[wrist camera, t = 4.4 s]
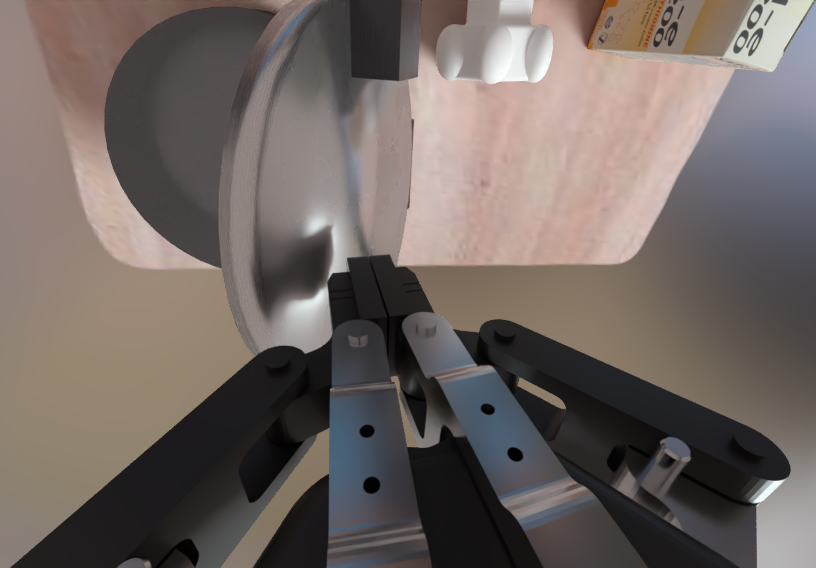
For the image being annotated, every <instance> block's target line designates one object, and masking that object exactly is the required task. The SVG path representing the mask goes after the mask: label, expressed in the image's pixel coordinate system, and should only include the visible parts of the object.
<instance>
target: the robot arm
mask: <svg viewBox="0 0 816 568" xmlns="http://www.w3.org/2000/svg"><path fill="white" fill-rule="evenodd" d="M346 268H347V272H339V273H332V275H331V276H330V278H329V280H328V281H327V285H328V296H329V308H330V319H331V327H332V336H331V338H330V339H329V341H328V342H327V343H326V344H324V345H323V346H322V347H320V348H318V349H316V350H314V351H311V352H308V353H306V354H305V353H304V352H303V351H302V350H301V349H299V348H297V347H294V346H287V345H282V346H275V347H272V348H268V349H266V350H264V351H262V352H261V353H259V354H258V355H256V356H255V357H254V358H253V359H252V360H251V361H249V362H248V364H246V365H245V366H244V367H243V368H241V369H240V370H239V371H238V372H237V373H236V374H234V375H233V376H232V377H231V378H230V379H229V380H228V381H226V382H225V383H224V384H223V385H222V386H221V387H220V388H218V389H217V390H216V391H215V392H214V393H212V394H211V395H210V396H209V397H208V398H207V399H205V400H204V401H203V402H202V403H201V404H200V405H199V406H197V407H196V408H195V409H194V410H193V411H192V412H190V413H189V414H188V415H187V416H186V417H184V418H183V419H182V420H181V421H180V422H179V423H178V424H176V425H175V426H174V427H173V428H172V429H171V430H169V431H168V432H167V433H166V434H165V435H164V436H162V438H160V439H159V440H158V441H157V442H156V443H154V444H153V445H152V446H151V447H150V448H149V449H147V450H146V451H145V452H144V453H143V454H142V455H140V456H139V457H138V458H137V459H136V460H135V461H133V462H132V463H131V464H130V465H129V466H128V467H127V468H125V469H124V470H123V471H122V472H121V473H120V474H118V475H117V476H116V477H115V478H114V479H113V480H111V481H110V482H109V483H108V484H107V485H106V486H105V487H103V488H102V489H101V490H100V491H99V492H98V493H96V494H95V495H94V496H93V497H92V498H91V499H89V500H88V501H87V502H86V503H85V504H84V505H82V506H81V507H80V508H79V509H78V510H77V511H76V512H75V513H73V514H72V515H71V516H70V517H69V518H68V519H66V520H65V521H64V522H63V523H62V524H61V525H59V526H58V527H57V528H56V529H55V530H53V531H52V532H51V533H50V534H49V535H48V536H47V537H45V538H44V539H43V540H42V541H41V542H40V543H38V544H37V545H36V546H35V547H34V548H33V549H31V550H30V551H29V552H28V553H27V554H26V555H24V556H23V557H22V558H21V559H20V560H19V561H18V562H16V563H15V564H14V565H13V566H12V567H11V568H220V567H221V566H222V564H223V563H224V562H225V561H226V559H227V558H228V556H229V555H230V554H231V553H232V551H233V550H234V549H235V547H236V546H237V545H238V543H239V542H240V541H241V539H242V538H243V537H244V535H245V534H246V533H247V531H248V530H249V529H250V527H251V526H252V525H253V523H254V522H255V521H256V519H257V518H258V517H259V515H260V514H261V513H262V511H263V510H264V509H265V507H266V506H267V505H268V503H269V502H270V501H271V499H272V498H273V497H274V495H275V494H276V492H277V491H278V490H279V489H280V487H281V486H282V485H283V483H284V482H285V480H286V479H287V478H288V476H289V475H290V474H291V473H292V471H293V470H294V469H295V467H296V466H297V465H298V463H299V462H300V461H301V459H302V458H303V457H304V455H305V454H306V453H307V451H308V450H309V449H310V447H311V446H312V445H313V443H314V441H315V439H316V437H317V434H318V433H319V432H322V431H324V430H326V429H328V428H330V439H329V474H328V475H326V476H325V477H323V478H321V479H320V480H319V481H317V482H316V483H315V484H314V485H312V486H311V487H310V488H309V489H308V490H307V491H306V492H305V493H304V494H303V495H302V496H301V497H300V498H299V499H298V501H297V502H296V503H295V504H294V506H293V507H292V508H291V510H290V511H289V513H288V514H287V516H286V517H285V519H284V520H283V522H282V524H281V525H280V527H279V528H278V530H277V531H276V533H275V534H274V536H273V537H272V539H271V540H270V542H269V544H268V545H267V547H266V548H265V550H264V551H263V553H262V554H261V556H260V557H259V559H258V560H257V562H256V563H255V565H254V567H253V568H757V541H756V540H757V539H756V538H757V536H756V507H757V506H758V505H760V503H761V502H763V500H764V499H766V498H767V497H768V496H769V495H770V494H771V493H772V492H773V491H774V490H775V489H776V488H777V487H778V486H779V485H780V484H781V483H782V482H783V481H784V480H785V479H786V478H787V477H788V476H789V475H790V471H791V469H790V464H789V462H788V460H787V458H786V456H785V455H784V453H782V451H781V450H780V449H779V448H778V447H777V446H776V445H775V444H774V443H773V442H772V441H771V440H769V439H768V438H767V437H765V436H764V435H762V434H761V433H759V432H758V431H756V430H754V429H752V428H750V427H748V426H746V425H743V424H741V423H739V422H737V421H735V420H732V419H730V418H728V417H726V416H723V415H721V414H719V413H716V412H714V411H712V410H710V409H708V408H705V407H703V406H701V405H699V404H696V403H694V402H692V401H689V400H687V399H685V398H683V397H680V396H678V395H676V394H674V393H671V392H669V391H667V390H665V389H663V388H660V387H658V386H656V385H654V384H651V383H649V382H647V381H645V380H642V379H640V378H638V377H635V376H633V375H631V374H629V373H626V372H624V371H622V370H620V369H617V368H615V367H613V366H611V365H609V364H606V363H604V362H602V361H599V360H597V359H595V358H593V357H590V356H588V355H586V354H584V353H581V352H579V351H577V350H575V349H572V348H570V347H568V346H566V345H563V344H561V343H559V342H556V341H554V340H552V339H550V338H548V337H545V336H543V335H541V334H539V333H536V332H534V331H532V330H530V329H527V328H525V327H523V326H521V325H518V324H516V323H514V322H511V321H507V320H501V319H497V320H490V321H487V322H485V323H484V324H483V325H482V326H481V328H480V331H479V333H477V332H468V331H460V330H455V329H452V327H451V326H450V324H449V323H448V321H447V320H446V319H445V318H443V317H442V316H440V315H437V314H435V313H434V311H433V309H432V307H431V305H430V303H429V301H428V299H427V297H426V295H425V293H424V291H423V289H422V287H421V285H420V284H419V281H418V279H417V277H416V275H415V273H413V272H412V271H410V270H409V269H408V268H406V267H396V268H395V265H394V263H393V261H392V258H391V256H390V254H386V255H373V256H369V257H368V256H362V257H349V258H346ZM391 376H398V379H399V382H400V384H399V396H400V400H401V402H402V405H403V407H404V410H405V412H406V415H407V418H408V420H409V423H410V426H411V428H412V430H413V433H414V436H415V439H416V441H417V444H418V446H419V448H417V447H416V448H415V447H407V444H406V439H405V433H404V428H403V422H402V417H401V412H400V406H399V400H398V395H397V389H396V386H395V383H394V382H391ZM520 377H521V378H523V379H525V380H526V381H528V382H530V383H532V384H534V385H536V386H538V387H540V388H542V389H544V390H546V391H548V392H550V393H552V394H553V395H555V396H557V397H559V398H560V399H561V400H562V401H563V402H564V404H565V406H566V409H561V408H558V407H556V406H554V405H552V404H550V403H548V402H547V401H545V400H543V399H541V398H539V397H537V396H535V395H533V394H531V393H530V392H528V391H526V390H524V389H522V388H520V387H518V386H517V385H518V381H519V378H520Z"/></svg>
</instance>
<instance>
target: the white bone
mask: <svg viewBox="0 0 816 568" xmlns="http://www.w3.org/2000/svg"><path fill="white" fill-rule="evenodd" d="M533 1H534V0H468V6H467V20H466V24H465V25H458V24H452V25H449V26H447V27H446V28H445V29H444V30H443V31H442V32H441V34H440V36H439V38H438V41H437V46H436V64H437V68H438V71H439V73H440V74H441V76H442V77H443V78H445V79H446V80H449V81H454V80H457V79H463V80H476V81H483V82H484V83H487V84H495V83H497V82H500V81H528V82H530V83H535V82H538V81H539V80H541V79H542V77H543V76H544V75H545V73H546V72H547V70H548V67H549V64H550V61H551V57H552V51H553V37H552V32H551V30H550V28H549V27H548V26H546V25H544V24H540V25H531V23H530V21H531V14H532V8H533Z"/></svg>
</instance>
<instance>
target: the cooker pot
mask: <svg viewBox="0 0 816 568" xmlns="http://www.w3.org/2000/svg"><path fill="white" fill-rule="evenodd" d="M275 15H276V13H272V12H268V11H261V10H254V9H244V8H237V7H210V8H204V9H198V10H192V11H188V12H185V13H182V14H180V15H177V16H174V17H171V18H169V19H167V20H165V21H164V22H162V23H160V24H158V25H156V26H154V27H153V28H151V29H150V30H149V31H148V32H147V33H145V34H144V35H143V36H142V37H140V38H139V39H138V40H137V41H136V42H135V43H134V44H133V46H132V47H131V48H130V49H129V50H128V52H127V53H126V54H125V55H124V57H123V58H122V60H121V62H120V64H119V65H118V67H117V69H116V71H115V72H114V75H113V78H112V81H111V84H110V87H109V89H108V94H107V100H106V105H105V136H106V143H107V149H108V153H109V156H110V160H111V163H112V166H113V169H114V171H115V174H116V176H117V178H118V180H119V183H120V185H121V187H122V188H123V190H124V192H125V193H126V195H127V197H128V198H129V200H130V202H131V203H132V204H133V206H134V207H135V208H136V209H137V211H138V212H139V213H140V215H141V216H142V217H143V218H144V219H145V220H146V221H147V222H148V223H149V224H150V225H151V226H152V227H153V228H154V230H155V231H157V232H158V233H159V234H160V235H161V236H163V237H164V238H165V239H166V240H168V241H169V242H170V243H172V244H173V245H175V246H176V247H178V248H179V249H181V250H182V251H184V252H185V253H187V254H189V255H191V256H193V257H195V258H197V259H198V260H201V261H203V262H205V263H208V264H210V265H213V266H215V267H219V268H222V266H221V254H220V243H219V231H218V226H219V184H220V174H221V164H222V154H223V148H224V143H225V137H226V132H227V127H228V122H229V117H230V112H231V109H232V105H233V102H234V99H235V95H236V92H237V89H238V86H239V82H240V79H241V76H242V73H243V71H244V69H245V67H246V64H247V62H248V60H249V58H250V55H251V53H252V51H253V48H254V46H255V44H256V43H257V41H258V39H259V38H260V36H261V35H262V33H263V31H264V30H265V28H266V27H267V25H268V23H269V22H270V21H271V20H272V18H273V17H274V16H275Z"/></svg>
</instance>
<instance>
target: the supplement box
mask: <svg viewBox="0 0 816 568" xmlns="http://www.w3.org/2000/svg"><path fill="white" fill-rule="evenodd" d="M815 2H816V0H605V3H604V5H603V8H602V11H601V13H600V16H599V18H598V21H597V23H596V26H595V28H594V31H593V33H592V36H591V38H590V41H589V44H588V47H587V49H590V50H595V51H599V52H604V53H608V54H613V55H617V56H621V57H625V58H629V59H637V60H647V61H658V62H669V63H680V64H692V65H703V66H714V67H725V68H737V69H749V70H759V71H767V72H772V71H774V69H775V68H776V66H777V65H778V63H779V62H780V60H781V58H782V56H783V55H784V53H785V51H786V49H787V47H788V46H789V44H790V43H791V41H792V39H793V38H794V36H795V34H796V33H797V31H798V29H799V28H800V26H801V25H802V23H803V22H804V20H805V19H806V17H807V15H808V13H809V12H810V10H811V8H812V7H813V5H814V3H815Z"/></svg>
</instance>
